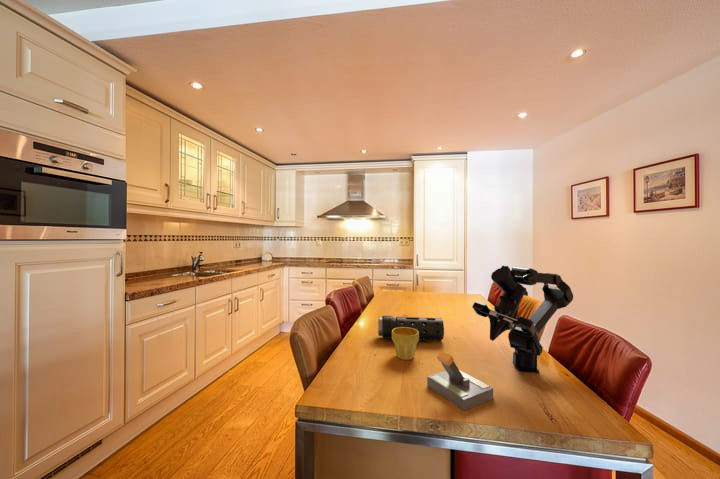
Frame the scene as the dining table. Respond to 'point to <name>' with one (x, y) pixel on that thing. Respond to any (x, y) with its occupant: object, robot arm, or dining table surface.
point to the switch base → (460, 390)
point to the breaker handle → (450, 367)
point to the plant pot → (405, 342)
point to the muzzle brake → (428, 331)
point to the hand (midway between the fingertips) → (491, 340)
